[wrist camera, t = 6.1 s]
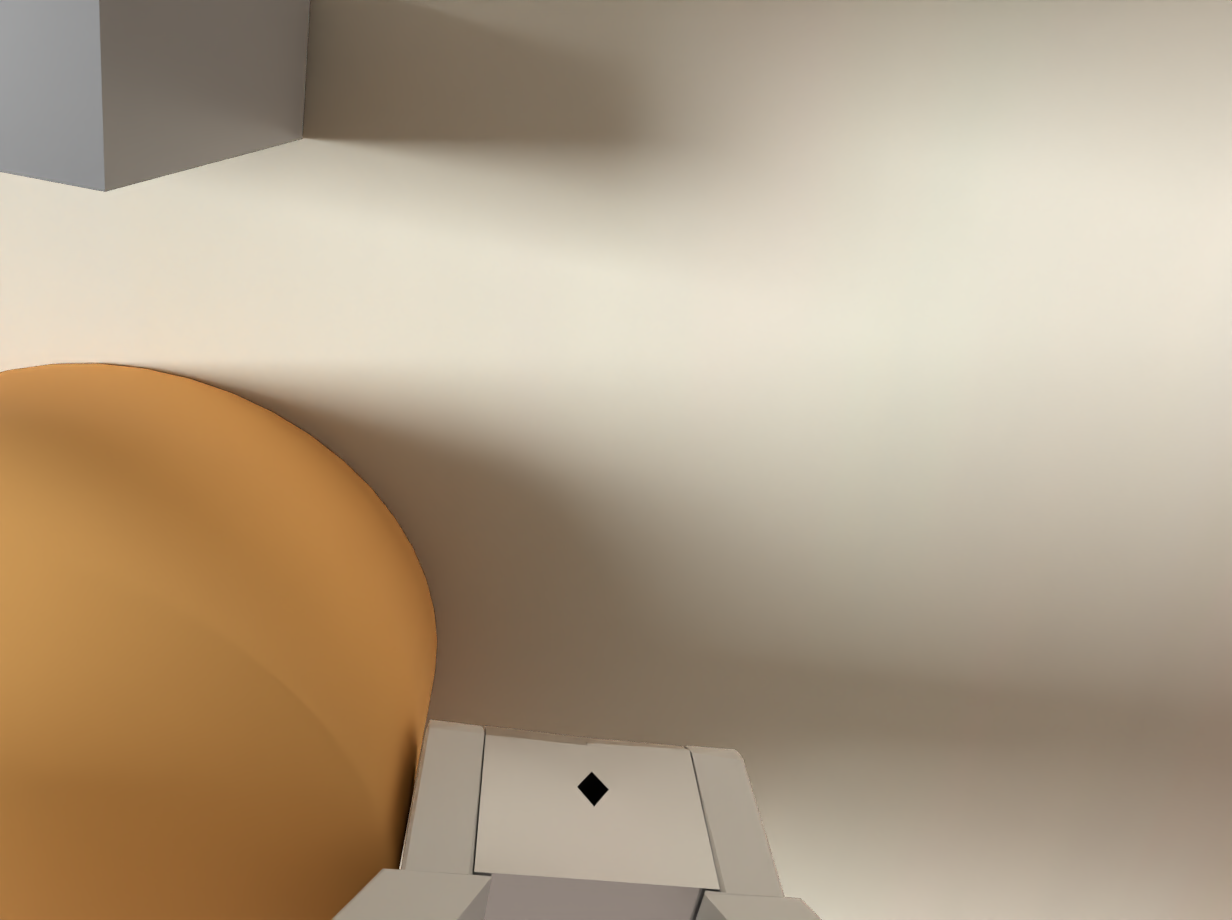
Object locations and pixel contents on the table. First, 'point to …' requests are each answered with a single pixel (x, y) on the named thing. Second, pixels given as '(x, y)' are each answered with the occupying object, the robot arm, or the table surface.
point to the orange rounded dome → (196, 657)
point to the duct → (146, 85)
